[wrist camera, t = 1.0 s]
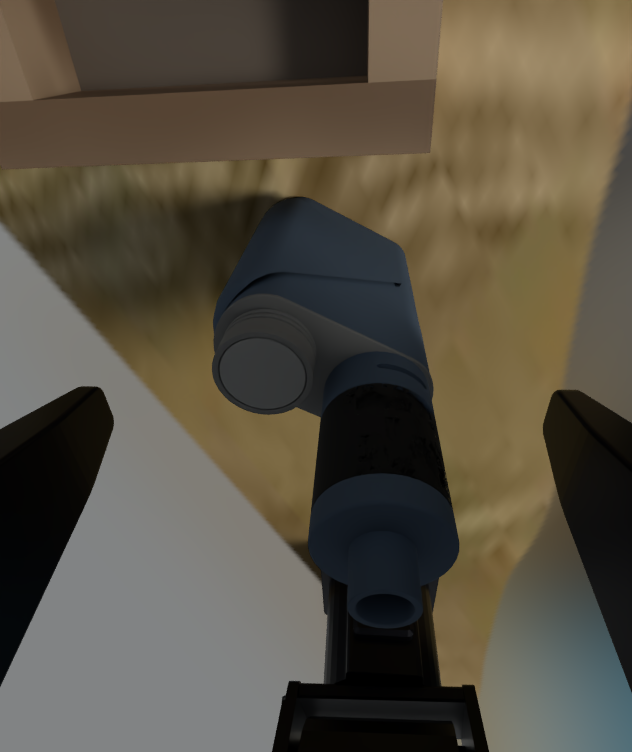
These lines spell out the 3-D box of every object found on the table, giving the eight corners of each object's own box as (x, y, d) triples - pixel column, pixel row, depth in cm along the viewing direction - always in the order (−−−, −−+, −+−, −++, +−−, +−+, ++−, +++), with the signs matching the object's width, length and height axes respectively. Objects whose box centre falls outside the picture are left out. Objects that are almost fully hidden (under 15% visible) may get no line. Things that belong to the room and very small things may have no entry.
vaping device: (382, 312, 17) (410, 668, 8) (250, 247, 16) (84, 564, 6) (422, 252, 16) (520, 596, 6) (280, 176, 15) (124, 447, 5)
